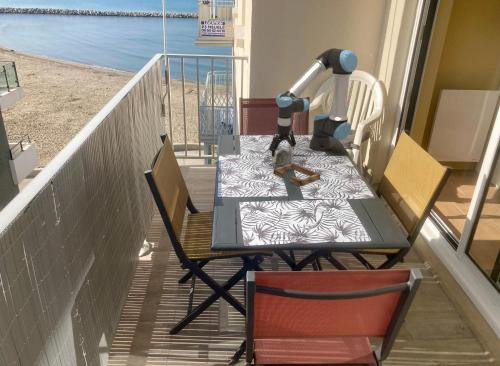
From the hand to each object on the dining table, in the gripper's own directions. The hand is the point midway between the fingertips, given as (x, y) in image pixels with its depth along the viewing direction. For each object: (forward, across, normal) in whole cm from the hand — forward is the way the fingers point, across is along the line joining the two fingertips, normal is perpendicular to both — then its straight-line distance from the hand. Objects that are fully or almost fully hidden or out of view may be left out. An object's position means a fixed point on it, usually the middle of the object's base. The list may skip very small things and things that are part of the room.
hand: (282, 159), depth 246 cm
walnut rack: (+4, +5, +17) cm, 18 cm away
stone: (+4, -1, 0) cm, 4 cm away
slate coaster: (+4, 0, 0) cm, 4 cm away
